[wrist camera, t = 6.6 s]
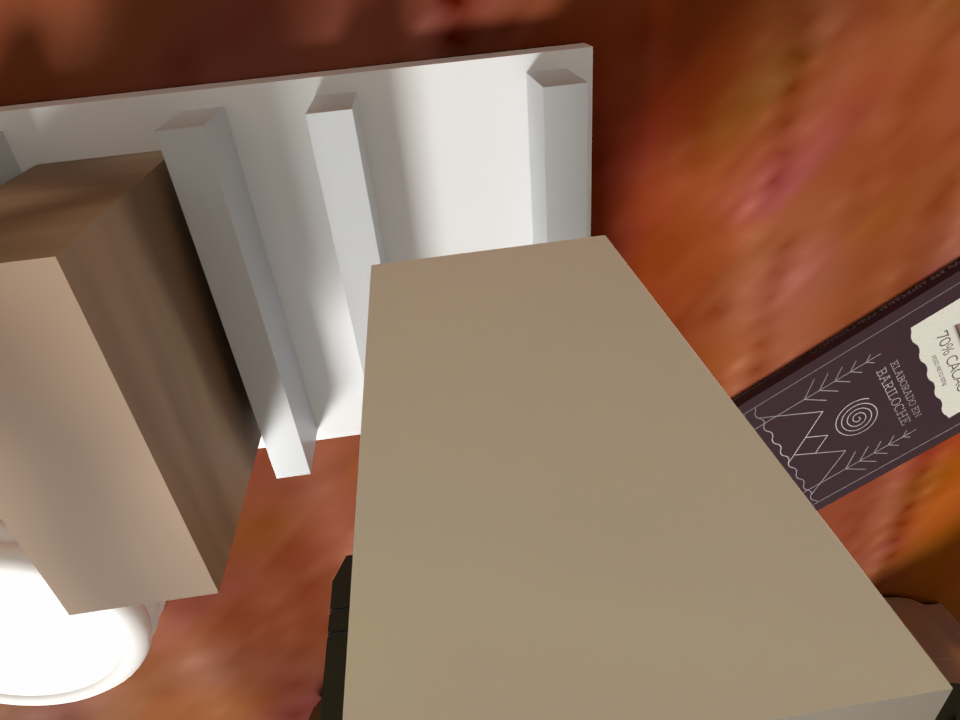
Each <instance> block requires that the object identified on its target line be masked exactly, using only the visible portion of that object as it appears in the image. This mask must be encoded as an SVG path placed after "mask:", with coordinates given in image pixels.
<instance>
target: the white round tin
mask: <svg viewBox="0 0 960 720" xmlns="http://www.w3.org/2000/svg"><path fill="white" fill-rule="evenodd" d="M165 603H166V601H161V602H154V603H148V604H141V605H135V606H128V607H121V608H115V609H108V610H101V611H95V612H88V613H81V614H75V615H69V614H68V612H67V611H66V610H65V608H64V607H63V605H62V604H61V603H60V601H59V600H58V598H57V597H56V595H55V594H54V593H53V591H52V590H51V588H50V587H49V586H48V584H47V583H46V581H45V580H44V579H43V577H42V576H41V574H40V573H39V571H38V570H37V569H36V567H35V566H34V564H33V563H32V562H31V560H30V559H29V557H28V556H27V555H26V553H25V552H24V550H23V549H22V547H21V546H20V545H19V543H18V542H17V540H16V539H15V538H14V536H13V535H12V533H11V532H10V531H9V529H8V528H7V526H6V525H5V523H4V522H3V521H2V519H1V518H0V703H2V704H11V705H29V706H37V705H54V704H63V703H69V702H75V701H79V700H83V699H86V698H89V697H92V696H95V695H98V694H100V693H103V692H105V691H107V690H109V689H111V688H113V687H115V686H117V685H119V684H120V683H122V682H124V681H125V680H126V679H127V678H129V677H130V676H131V675H132V674H133V673H134V672H135V671H136V670H137V669H138V668H139V666H140V665H141V664H142V662H143V661H144V659H145V657H146V656H147V654H148V652H149V649H150V646H151V640H152V636H153V635H154V633H155V632H156V629H157V626H158V623H159V617H160V614H161V613H162V611H163V609H164V606H165Z"/></svg>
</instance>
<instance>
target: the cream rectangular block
mask: <svg viewBox="0 0 960 720" xmlns="http://www.w3.org/2000/svg"><path fill="white" fill-rule="evenodd" d="M952 689H953V688H952V686H951V685H950V684H949V682H948V681H947V680H946V678H945V677H944V676H943V674H942V673H941V672H940V671H939V669H938V668H937V667H936V665H935V664H934V663H933V661H932V660H931V659H930V658H929V656H928V655H927V654H926V652H925V651H924V650H923V648H922V647H921V646H920V645H919V643H918V642H917V641H916V639H915V638H914V637H913V635H912V634H911V633H910V632H909V630H908V629H907V628H906V626H905V625H904V624H903V622H902V621H901V620H900V618H899V617H898V616H897V615H896V613H895V612H894V611H893V609H892V608H891V607H890V605H889V604H888V603H887V602H886V600H885V599H884V598H883V596H882V595H881V594H880V592H879V591H878V590H877V589H876V587H875V586H874V585H873V583H872V582H871V581H870V579H869V578H868V577H867V576H866V574H865V573H864V572H863V570H862V569H861V568H860V566H859V565H858V564H857V562H856V561H855V560H854V559H853V557H852V556H851V555H850V553H849V552H848V551H847V549H846V548H845V547H844V546H843V544H842V543H841V542H840V540H839V539H838V538H837V536H836V535H835V534H834V533H833V531H832V530H831V529H830V527H829V526H828V525H827V523H826V522H825V521H824V520H823V518H822V517H821V516H820V514H819V513H818V512H817V510H816V509H815V508H814V506H813V505H812V504H811V503H810V501H809V500H808V499H807V497H806V496H805V495H804V493H803V492H802V491H801V490H800V488H799V487H798V486H797V484H796V483H795V482H794V480H793V479H792V478H791V477H790V475H789V474H788V473H787V471H786V470H785V469H784V467H783V466H782V465H781V464H780V462H779V461H778V460H777V458H776V457H775V456H774V454H773V453H772V452H771V451H770V449H769V448H768V447H767V445H766V444H765V443H764V441H763V440H762V439H761V437H760V436H759V435H758V434H757V432H756V431H755V430H754V428H753V427H752V426H751V424H750V423H749V422H748V421H747V419H746V418H745V417H744V415H743V414H742V413H741V411H740V410H739V409H738V408H737V406H736V405H735V404H734V402H733V401H732V400H731V398H730V397H729V396H728V395H727V393H726V392H725V391H724V389H723V388H722V387H721V385H720V384H719V383H718V381H717V380H716V379H715V378H714V376H713V375H712V374H711V372H710V371H709V370H708V368H707V367H706V366H705V365H704V363H703V362H702V361H701V359H700V358H699V357H698V355H697V354H696V353H695V352H694V350H693V349H692V348H691V346H690V345H689V344H688V342H687V341H686V340H685V339H684V337H683V336H682V335H681V333H680V332H679V331H678V329H677V328H676V327H675V325H674V324H673V323H672V322H671V320H670V319H669V318H668V316H667V315H666V314H665V312H664V311H663V310H662V309H661V307H660V306H659V305H658V303H657V302H656V301H655V299H654V298H653V297H652V296H651V294H650V293H649V292H648V290H647V289H646V288H645V286H644V285H643V284H642V283H641V281H640V280H639V279H638V277H637V276H636V275H635V273H634V272H633V271H632V269H631V268H630V267H629V266H628V264H627V263H626V262H625V260H624V259H623V258H622V256H621V255H620V254H619V253H618V251H617V250H616V249H615V247H614V246H613V245H612V243H611V242H610V241H609V240H608V238H607V237H606V236H605V235H602V236H594V237H586V238H578V239H570V240H563V241H555V242H547V243H539V244H531V245H524V246H516V247H508V248H500V249H492V250H485V251H477V252H469V253H461V254H453V255H446V256H438V257H430V258H422V259H414V260H407V261H399V262H391V263H383V264H375V265H371V276H370V292H369V308H368V324H367V340H366V356H365V371H364V387H363V403H362V419H361V435H360V451H359V466H358V482H357V498H356V514H355V530H354V546H353V561H352V577H351V593H350V609H349V625H348V641H347V657H346V672H345V688H344V704H343V720H935V719H936V717H937V715H938V714H939V712H940V710H941V708H942V707H943V705H944V703H945V701H946V700H947V698H948V696H949V695H950V693H951V691H952Z"/></svg>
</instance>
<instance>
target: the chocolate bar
mask: <svg viewBox="0 0 960 720" xmlns="http://www.w3.org/2000/svg"><path fill="white" fill-rule="evenodd" d="M732 401H733V402H734V404H735V405H736V406H737V408H738V409H739V410H740V411H741V413H742V414H743V415H744V417H745V418H746V419H747V421H748V422H749V423H750V424H751V426H752V427H753V428H754V430H755V431H756V432H757V434H758V435H759V436H760V437H761V439H762V440H763V441H764V443H765V444H766V445H767V447H768V448H769V449H770V451H771V452H772V453H773V454H774V456H775V457H776V458H777V460H778V461H779V462H780V464H781V465H782V466H783V467H784V469H785V470H786V471H787V473H788V474H789V475H790V477H791V478H792V479H793V480H794V482H795V483H796V484H797V486H798V487H799V488H800V490H801V491H802V492H803V493H804V495H805V496H806V497H807V499H808V500H809V501H810V503H811V504H812V505H813V506H814V508H815V509H816V510H819V509H821V508H823V507H825V506H826V505H828V504H830V503H832V502H834V501H835V500H837V499H839V498H841V497H843V496H845V495H846V494H848V493H850V492H852V491H854V490H856V489H857V488H859V487H861V486H863V485H865V484H866V483H868V482H870V481H872V480H874V479H876V478H877V477H879V476H881V475H883V474H885V473H886V472H888V471H890V470H892V469H894V468H896V467H897V466H899V465H901V464H903V463H905V462H906V461H908V460H910V459H912V458H914V457H916V456H917V455H919V454H921V453H923V452H925V451H927V450H928V449H930V448H932V447H934V446H936V445H937V444H939V443H941V442H943V441H945V440H947V439H948V438H950V437H952V436H954V435H956V434H957V433H959V432H960V259H959V260H957V261H956V262H954V263H952V264H951V265H949V266H948V267H946V268H944V269H943V270H941V271H940V272H938V273H936V274H935V275H933V276H931V277H930V278H928V279H927V280H925V281H923V282H922V283H920V284H918V285H917V286H915V287H914V288H912V289H910V290H909V291H907V292H906V293H904V294H902V295H901V296H899V297H897V298H896V299H894V300H893V301H891V302H889V303H888V304H886V305H885V306H883V307H881V308H880V309H878V310H876V311H875V312H873V313H872V314H870V315H868V316H867V317H865V318H863V319H862V320H860V321H859V322H857V323H855V324H854V325H852V326H851V327H849V328H847V329H846V330H844V331H842V332H841V333H839V334H838V335H836V336H834V337H833V338H831V339H829V340H828V341H826V342H825V343H823V344H821V345H820V346H818V347H817V348H815V349H813V350H812V351H810V352H808V353H807V354H805V355H804V356H802V357H800V358H799V359H797V360H796V361H794V362H792V363H791V364H789V365H787V366H786V367H784V368H783V369H781V370H779V371H778V372H776V373H774V374H773V375H771V376H770V377H768V378H766V379H765V380H763V381H762V382H760V383H758V384H757V385H755V386H753V387H752V388H750V389H749V390H747V391H745V392H744V393H742V394H741V395H739V396H737V397H736V398H734V399H732Z"/></svg>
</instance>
